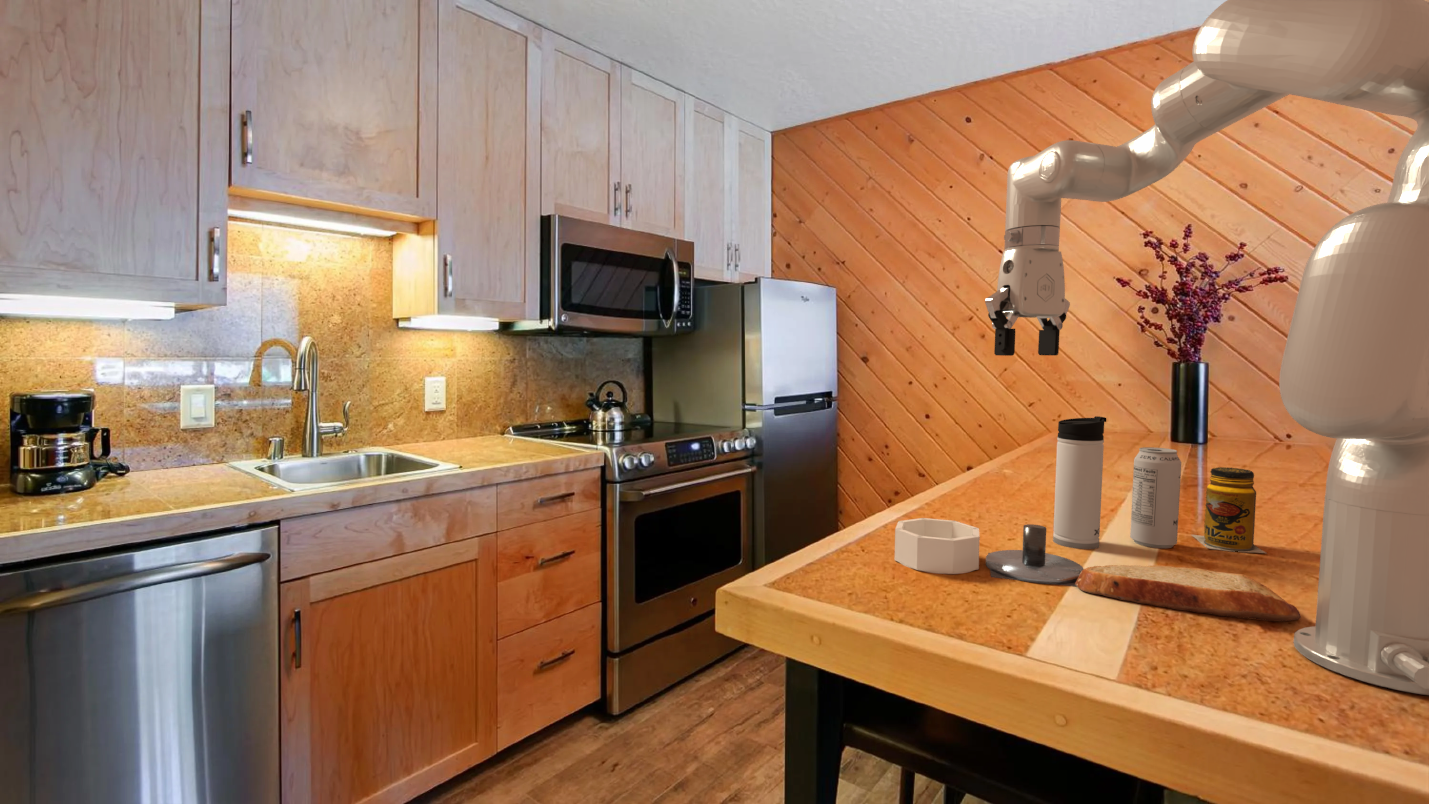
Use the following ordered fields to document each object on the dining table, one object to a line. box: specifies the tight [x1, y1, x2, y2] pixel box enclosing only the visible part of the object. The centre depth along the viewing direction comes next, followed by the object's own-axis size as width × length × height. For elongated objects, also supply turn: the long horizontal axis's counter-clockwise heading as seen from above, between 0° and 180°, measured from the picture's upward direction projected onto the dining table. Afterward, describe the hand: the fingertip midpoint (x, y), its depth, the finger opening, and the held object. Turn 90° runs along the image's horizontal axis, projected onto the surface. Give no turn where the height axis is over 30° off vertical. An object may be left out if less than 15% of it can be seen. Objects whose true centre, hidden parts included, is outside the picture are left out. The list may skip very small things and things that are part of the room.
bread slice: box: [1075, 564, 1302, 622], centre depth 79 cm, size 18×18×4 cm
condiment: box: [1191, 466, 1267, 554], centre depth 102 cm, size 7×8×12 cm
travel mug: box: [1052, 415, 1107, 550], centre depth 102 cm, size 6×7×20 cm
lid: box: [985, 523, 1084, 585], centre depth 90 cm, size 12×12×6 cm
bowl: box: [894, 517, 981, 575], centre depth 93 cm, size 11×11×5 cm
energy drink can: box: [1129, 446, 1182, 549], centre depth 102 cm, size 6×6×15 cm
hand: (1026, 355), depth 102 cm, fingers open, 9 cm apart
